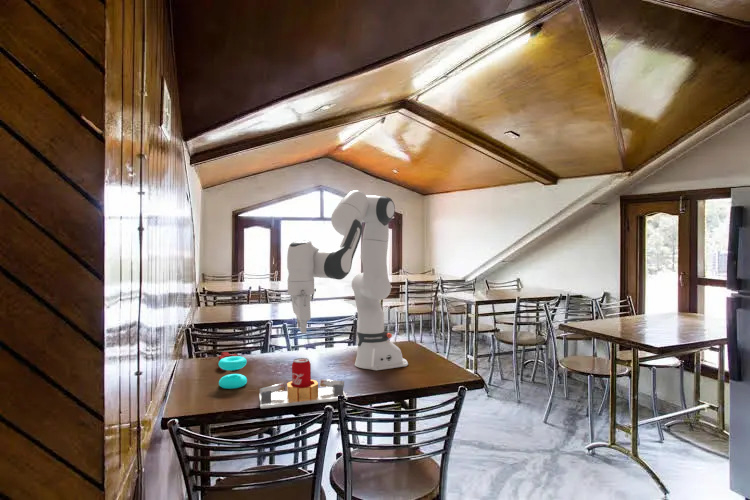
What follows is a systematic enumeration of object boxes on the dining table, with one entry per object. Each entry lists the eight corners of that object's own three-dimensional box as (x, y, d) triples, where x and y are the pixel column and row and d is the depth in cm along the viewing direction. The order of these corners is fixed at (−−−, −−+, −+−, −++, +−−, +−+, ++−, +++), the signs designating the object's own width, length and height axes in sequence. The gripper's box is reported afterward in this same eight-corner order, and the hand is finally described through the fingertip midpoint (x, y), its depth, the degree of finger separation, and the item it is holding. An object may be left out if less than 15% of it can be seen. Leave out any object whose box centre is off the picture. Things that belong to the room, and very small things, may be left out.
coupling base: (340, 388, 168) (340, 372, 168) (347, 399, 157) (347, 382, 156) (259, 396, 161) (258, 379, 161) (260, 408, 149) (259, 390, 149)
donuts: (215, 362, 168) (221, 355, 178) (216, 390, 168) (221, 382, 178) (244, 361, 169) (248, 354, 179) (244, 389, 169) (248, 381, 179)
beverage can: (293, 392, 162) (292, 357, 161) (311, 392, 162) (311, 357, 162) (291, 398, 155) (290, 362, 155) (310, 398, 156) (309, 361, 156)
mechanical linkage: (240, 369, 196) (240, 357, 196) (222, 372, 192) (222, 360, 192) (232, 361, 210) (231, 350, 210) (215, 363, 206) (215, 352, 206)
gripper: (314, 291, 149) (315, 335, 149) (306, 285, 169) (307, 324, 169) (294, 292, 147) (295, 336, 148) (288, 286, 167) (289, 325, 167)
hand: (301, 330), depth 158 cm, fingers open, 8 cm apart
